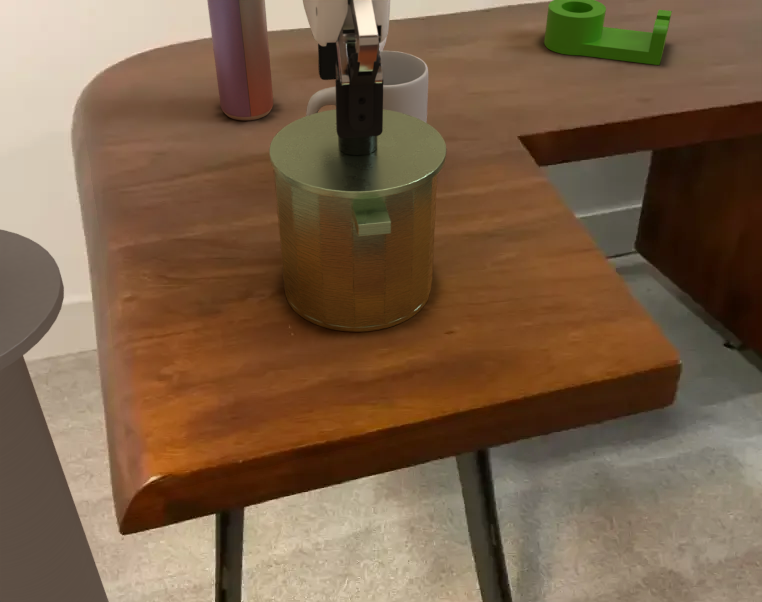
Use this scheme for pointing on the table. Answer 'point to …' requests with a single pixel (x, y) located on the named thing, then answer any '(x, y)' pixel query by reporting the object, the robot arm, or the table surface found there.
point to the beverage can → (241, 57)
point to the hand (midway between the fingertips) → (349, 105)
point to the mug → (391, 86)
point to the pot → (356, 255)
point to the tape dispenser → (601, 33)
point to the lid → (357, 156)
